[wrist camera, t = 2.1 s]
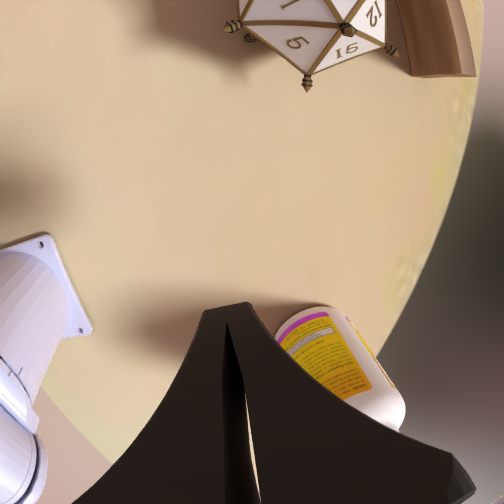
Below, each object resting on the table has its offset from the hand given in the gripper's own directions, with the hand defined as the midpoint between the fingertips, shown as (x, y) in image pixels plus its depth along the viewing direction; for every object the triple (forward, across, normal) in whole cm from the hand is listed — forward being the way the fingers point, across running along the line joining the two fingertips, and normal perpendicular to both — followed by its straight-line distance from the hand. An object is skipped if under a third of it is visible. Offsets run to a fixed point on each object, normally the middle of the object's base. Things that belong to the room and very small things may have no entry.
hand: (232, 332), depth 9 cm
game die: (+11, -6, -11) cm, 17 cm away
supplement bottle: (+11, -5, +11) cm, 16 cm away
